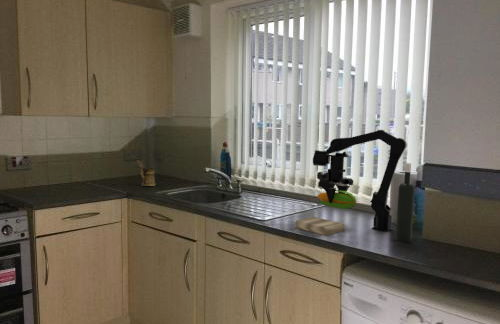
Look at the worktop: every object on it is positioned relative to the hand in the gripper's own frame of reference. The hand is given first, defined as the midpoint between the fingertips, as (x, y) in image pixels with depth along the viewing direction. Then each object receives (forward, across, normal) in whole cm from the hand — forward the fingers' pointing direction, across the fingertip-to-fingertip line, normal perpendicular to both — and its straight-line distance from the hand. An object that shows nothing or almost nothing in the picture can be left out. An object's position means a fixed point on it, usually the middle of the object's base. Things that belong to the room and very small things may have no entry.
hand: (335, 202), depth 194 cm
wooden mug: (+10, +13, -138) cm, 139 cm away
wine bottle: (+10, +1, +33) cm, 34 cm away
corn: (+2, 0, 0) cm, 2 cm away
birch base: (+10, +14, +2) cm, 17 cm away
